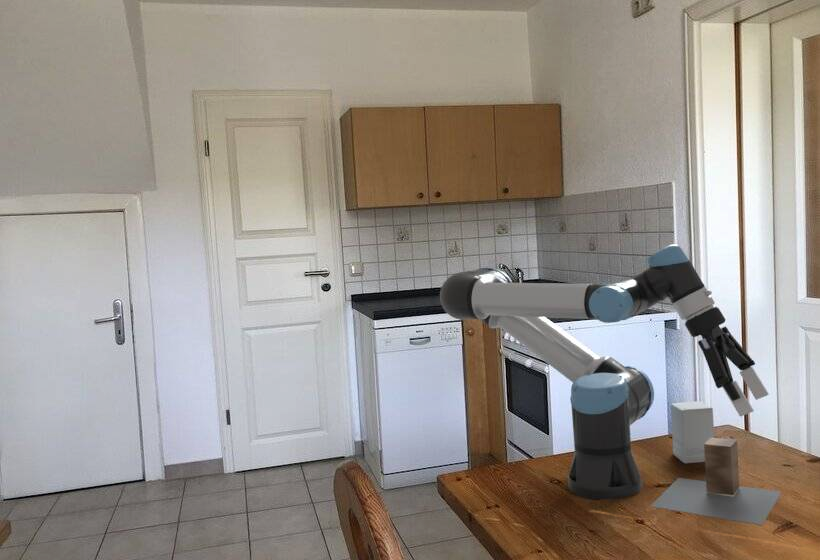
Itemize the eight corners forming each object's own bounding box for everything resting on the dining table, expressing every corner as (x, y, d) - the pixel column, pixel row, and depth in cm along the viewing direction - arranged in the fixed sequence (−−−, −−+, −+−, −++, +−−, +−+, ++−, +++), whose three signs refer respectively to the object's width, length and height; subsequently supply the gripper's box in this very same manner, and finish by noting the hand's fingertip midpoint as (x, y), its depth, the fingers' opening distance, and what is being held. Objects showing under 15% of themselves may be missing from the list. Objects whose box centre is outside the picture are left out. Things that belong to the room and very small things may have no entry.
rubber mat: (650, 508, 140) (650, 506, 140) (678, 479, 154) (678, 477, 154) (762, 527, 128) (762, 524, 128) (782, 493, 142) (781, 491, 142)
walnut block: (706, 492, 144) (704, 444, 144) (713, 485, 148) (710, 437, 148) (733, 496, 141) (730, 446, 141) (739, 488, 145) (736, 440, 145)
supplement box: (716, 462, 163) (713, 407, 162) (683, 465, 163) (680, 410, 162) (703, 453, 170) (701, 400, 169) (672, 455, 170) (669, 402, 170)
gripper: (698, 314, 139) (758, 414, 134) (731, 297, 159) (784, 384, 154) (664, 331, 143) (721, 428, 139) (700, 312, 163) (752, 397, 158)
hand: (755, 405), depth 146 cm, fingers open, 13 cm apart
